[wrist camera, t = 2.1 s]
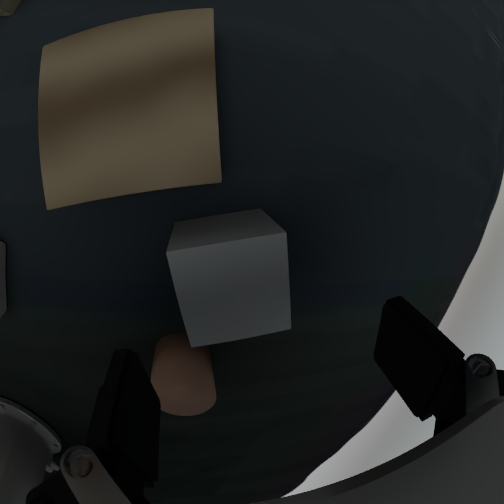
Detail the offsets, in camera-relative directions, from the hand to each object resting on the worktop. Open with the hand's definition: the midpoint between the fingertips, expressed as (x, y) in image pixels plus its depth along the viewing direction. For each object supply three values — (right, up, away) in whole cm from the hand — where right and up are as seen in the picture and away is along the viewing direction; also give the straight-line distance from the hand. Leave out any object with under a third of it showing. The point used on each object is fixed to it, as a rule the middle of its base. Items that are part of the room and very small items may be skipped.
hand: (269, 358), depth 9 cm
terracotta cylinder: (-7, -5, +13) cm, 15 cm away
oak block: (-8, +13, +6) cm, 17 cm away
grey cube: (-3, +4, +11) cm, 12 cm away
